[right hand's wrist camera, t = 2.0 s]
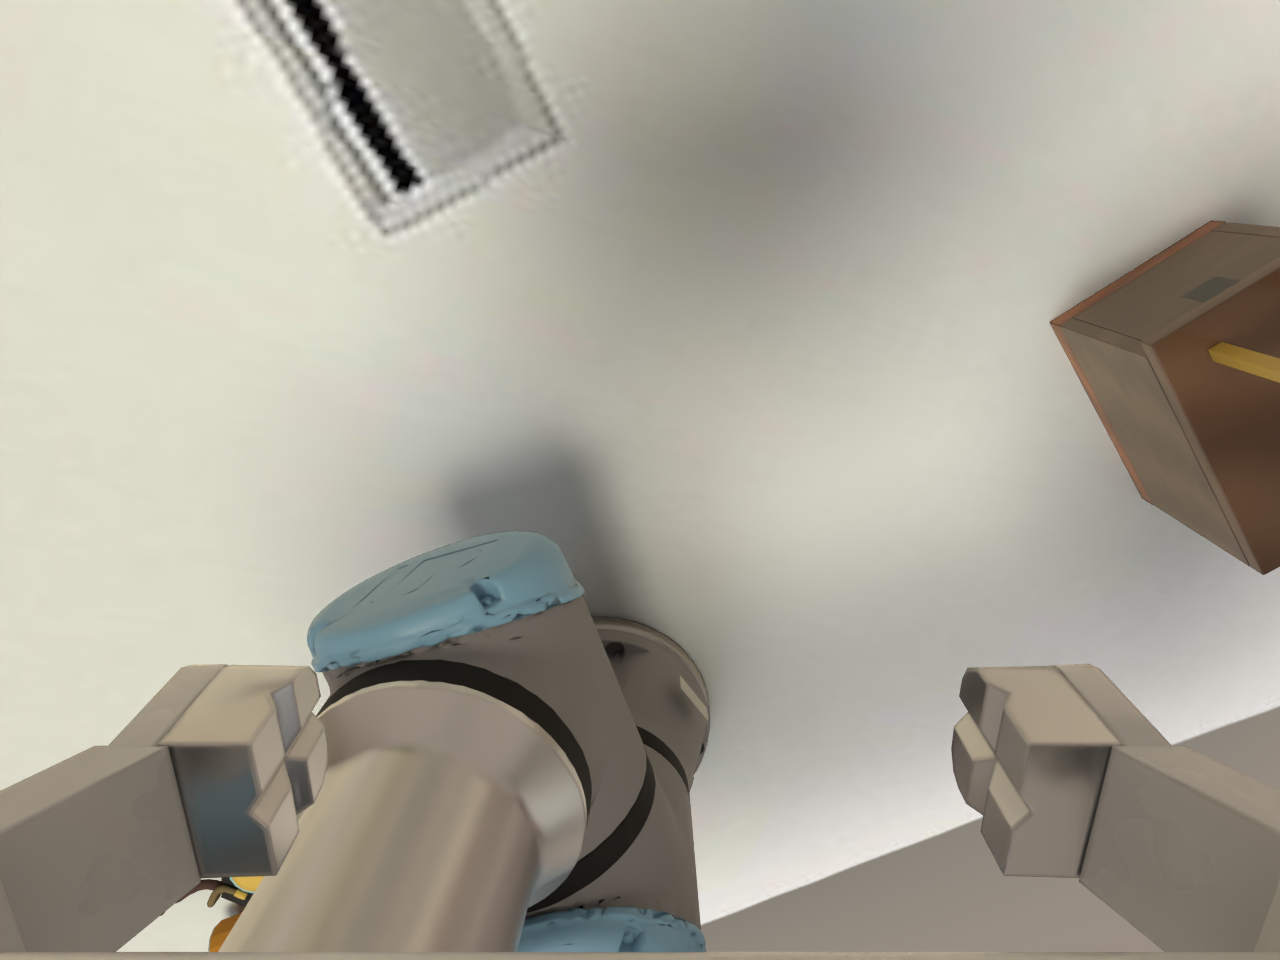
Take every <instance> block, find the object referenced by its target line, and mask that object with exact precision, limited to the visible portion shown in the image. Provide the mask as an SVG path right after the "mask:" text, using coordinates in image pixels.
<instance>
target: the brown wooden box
mask: <svg viewBox="0 0 1280 960" xmlns="http://www.w3.org/2000/svg"><path fill="white" fill-rule="evenodd" d="M1279 257H1280V227H1273V226H1261V225H1248V224H1236V223H1225V222H1222V221H1210V222H1209V223H1207V224H1205V225H1204V226H1202V227H1201V228H1199V229H1197V230H1196V231H1194V232H1193V233H1191V234H1189V235H1188V236H1186V237H1185V238H1183V239H1182V240H1180V241H1178V242H1177V243H1175V244H1174V245H1172V246H1170V247H1169V248H1167V249H1166V250H1164V251H1162V252H1161V253H1159V254H1158V255H1156V256H1154V257H1153V258H1151V259H1150V260H1148V261H1147V262H1145V263H1143V264H1142V265H1140V266H1139V267H1137V268H1135V269H1134V270H1132V271H1131V272H1129V273H1127V274H1126V275H1124V276H1123V277H1121V278H1119V279H1118V280H1116V281H1115V282H1113V283H1112V284H1110V285H1108V286H1107V287H1105V288H1104V289H1102V290H1100V291H1099V292H1097V293H1096V294H1094V295H1092V296H1091V297H1089V298H1088V299H1086V300H1085V301H1083V302H1081V303H1080V304H1078V305H1077V306H1075V307H1073V308H1072V309H1070V310H1069V311H1067V312H1065V313H1064V314H1062V315H1061V316H1059V317H1057V318H1056V319H1054V320H1053V321H1051V322H1050V324H1051V326H1052V328H1053V330H1054V332H1055V333H1056V335H1057V337H1058V339H1059V341H1060V343H1061V345H1062V347H1063V349H1064V351H1065V352H1066V354H1067V356H1068V358H1069V360H1070V362H1071V364H1072V366H1073V368H1074V370H1075V371H1076V373H1077V375H1078V377H1079V379H1080V381H1081V383H1082V385H1083V387H1084V389H1085V390H1086V392H1087V394H1088V396H1089V398H1090V400H1091V402H1092V404H1093V406H1094V408H1095V409H1096V411H1097V413H1098V415H1099V417H1100V419H1101V421H1102V423H1103V425H1104V427H1105V428H1106V430H1107V432H1108V434H1109V436H1110V438H1111V440H1112V442H1113V444H1114V446H1115V447H1116V449H1117V451H1118V453H1119V455H1120V457H1121V459H1122V461H1123V463H1124V465H1125V466H1126V468H1127V470H1128V472H1129V474H1130V476H1131V478H1132V480H1133V482H1134V483H1135V485H1136V487H1137V489H1138V491H1139V493H1140V495H1141V497H1142V498H1143V499H1144V500H1146V501H1147V502H1149V503H1151V504H1152V505H1155V506H1156V507H1158V508H1159V509H1161V510H1162V511H1164V512H1166V513H1167V514H1169V515H1170V516H1172V517H1173V518H1175V519H1176V520H1178V521H1180V522H1181V523H1183V524H1184V525H1186V526H1187V527H1189V528H1190V529H1192V530H1194V531H1195V532H1197V533H1198V534H1200V535H1201V536H1203V537H1204V538H1206V539H1208V540H1209V541H1211V542H1212V543H1214V544H1215V545H1217V546H1218V547H1220V548H1222V549H1223V550H1225V551H1226V552H1228V553H1229V554H1231V555H1232V556H1234V557H1236V558H1237V559H1239V560H1240V561H1242V562H1243V563H1245V564H1246V565H1248V566H1250V564H1249V562H1248V560H1247V558H1246V556H1245V554H1244V552H1243V550H1242V548H1241V546H1240V544H1239V542H1238V540H1237V538H1236V536H1235V534H1234V532H1233V530H1232V528H1231V526H1230V524H1229V522H1228V520H1227V518H1226V515H1225V513H1224V511H1223V509H1222V507H1221V505H1220V503H1219V501H1218V499H1217V497H1216V495H1215V493H1214V491H1213V489H1212V487H1211V485H1210V483H1209V481H1208V479H1207V477H1206V475H1205V473H1204V471H1203V469H1202V467H1201V465H1200V463H1199V461H1198V459H1197V457H1196V455H1195V453H1194V451H1193V448H1192V446H1191V444H1190V442H1189V440H1188V438H1187V436H1186V434H1185V432H1184V430H1183V428H1182V426H1181V424H1180V422H1179V420H1178V418H1177V416H1176V414H1175V412H1174V410H1173V408H1172V406H1171V404H1170V402H1169V400H1168V398H1167V396H1166V394H1165V392H1164V390H1163V388H1162V386H1161V384H1160V381H1159V379H1158V377H1157V375H1156V373H1155V371H1154V369H1153V367H1152V365H1151V363H1150V361H1149V359H1148V357H1147V355H1146V353H1145V351H1144V349H1143V347H1142V345H1141V341H1143V340H1144V339H1146V338H1147V337H1149V336H1151V335H1152V334H1154V333H1156V332H1157V331H1159V330H1161V329H1162V328H1164V327H1166V326H1167V325H1169V324H1170V323H1172V322H1174V321H1175V320H1177V319H1179V318H1180V317H1182V316H1184V315H1185V314H1187V313H1189V312H1190V311H1192V310H1193V309H1195V308H1197V307H1198V306H1200V305H1202V304H1203V303H1205V302H1207V301H1208V300H1210V299H1212V298H1213V297H1215V296H1216V295H1218V294H1220V293H1221V292H1223V291H1225V290H1226V289H1228V288H1230V287H1231V286H1233V285H1235V284H1236V283H1238V282H1239V281H1241V280H1243V279H1244V278H1246V277H1248V276H1249V275H1251V274H1253V273H1254V272H1256V271H1258V270H1259V269H1261V268H1262V267H1264V266H1266V265H1267V264H1269V263H1271V262H1272V261H1274V260H1276V259H1277V258H1279Z"/></svg>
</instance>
